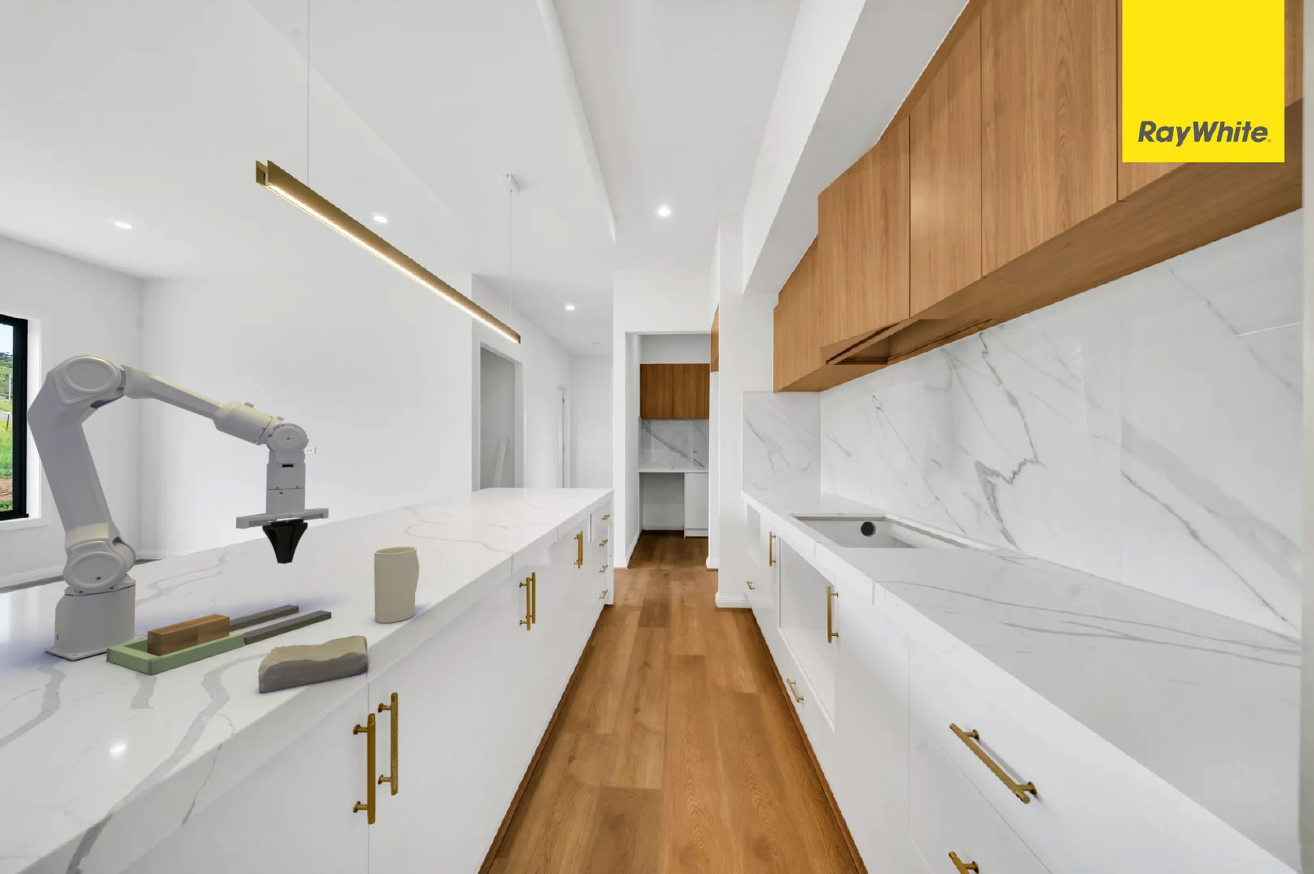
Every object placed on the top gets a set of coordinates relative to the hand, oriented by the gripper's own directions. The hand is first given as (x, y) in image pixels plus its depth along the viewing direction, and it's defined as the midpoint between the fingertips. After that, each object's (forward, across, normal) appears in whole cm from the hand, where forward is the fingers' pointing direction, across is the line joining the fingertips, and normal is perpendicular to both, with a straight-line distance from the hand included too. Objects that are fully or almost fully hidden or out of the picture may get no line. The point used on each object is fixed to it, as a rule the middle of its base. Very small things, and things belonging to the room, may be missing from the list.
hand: (284, 562), depth 89 cm
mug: (+10, +8, -20) cm, 24 cm away
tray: (+9, -17, -4) cm, 20 cm away
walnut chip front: (+10, -17, -4) cm, 20 cm away
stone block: (+10, -13, -29) cm, 33 cm away
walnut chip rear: (+10, -13, -4) cm, 17 cm away
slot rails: (+9, -4, -4) cm, 11 cm away
